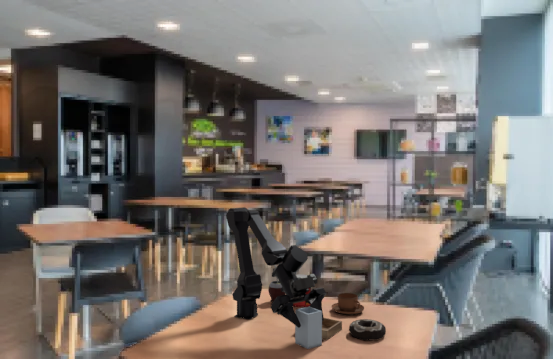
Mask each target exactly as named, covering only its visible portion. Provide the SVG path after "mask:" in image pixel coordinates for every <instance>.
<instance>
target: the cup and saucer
mask: <svg viewBox="0 0 553 359" xmlns="http://www.w3.org/2000/svg"><path fill="white" fill-rule="evenodd" d="M331 309H332V311H334V312H335V313H338V314H341V315H357V314H360V313H362V312H363V311H364V310H365V306H364V305H362V304H361V302H360V301H359V295H357V294H355V293H351V292H350V293H349V292H341V293H339V294H338V295H337V302H335V303H333V304H332V305H331Z"/></svg>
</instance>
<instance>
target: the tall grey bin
mask: <svg viewBox="0 0 553 359" xmlns="http://www.w3.org/2000/svg"><path fill="white" fill-rule="evenodd" d="M294 311H295V313H296V315H297V317H298V319H299V322H300V324H301V327H300V328H298V327H297V326H296V325H294V326H295V327H294V329H295V332H294V339H295V340H294V343H295V344H296V345H298V346H300V347H302V348H304V349H307V350H310V349H313V348H318V347H320V346H322V344H323V342H322V341H323V339H322V311H323V310H322V311H320V310H317V309H315V308H312V307H309V306H308V307H299V308H297V309H294Z"/></svg>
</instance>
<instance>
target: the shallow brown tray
mask: <svg viewBox="0 0 553 359" xmlns="http://www.w3.org/2000/svg"><path fill="white" fill-rule="evenodd" d="M342 330H343V321H342V320H339V319H333V318H328V317H324V320H323V321H322V340H325V341H328V340H330V339H331V338H332V337H334V336H336V334H338V333H339V332H341V331H342Z"/></svg>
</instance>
